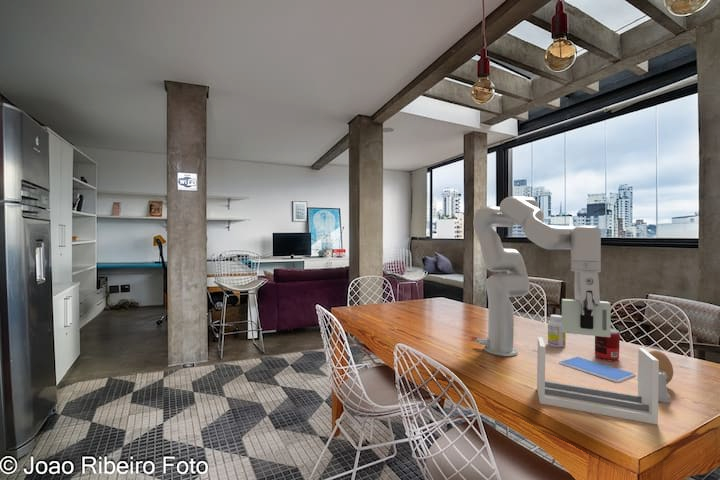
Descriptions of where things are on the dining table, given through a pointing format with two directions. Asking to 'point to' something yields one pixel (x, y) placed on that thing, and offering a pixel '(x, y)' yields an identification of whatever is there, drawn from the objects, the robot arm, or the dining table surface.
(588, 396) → the cabinet base
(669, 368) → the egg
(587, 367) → the tablet computer
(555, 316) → the supplement bottle
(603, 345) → the canned food
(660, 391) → the rook chess piece
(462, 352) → the dining table surface
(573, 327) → the door panel
